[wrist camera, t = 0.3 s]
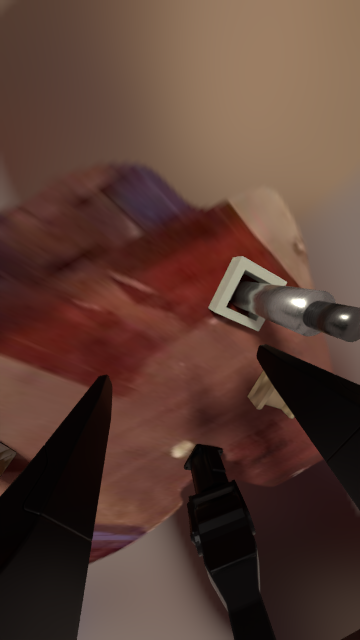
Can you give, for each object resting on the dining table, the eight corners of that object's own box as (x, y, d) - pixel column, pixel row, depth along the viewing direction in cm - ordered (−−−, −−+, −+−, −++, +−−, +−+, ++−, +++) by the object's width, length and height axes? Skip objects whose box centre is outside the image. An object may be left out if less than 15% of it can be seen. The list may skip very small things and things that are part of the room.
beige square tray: (281, 406, 34) (292, 418, 31) (247, 396, 32) (256, 408, 29) (305, 370, 32) (320, 380, 30) (271, 357, 30) (284, 366, 27)
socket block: (249, 326, 27) (258, 331, 25) (208, 308, 25) (214, 312, 23) (274, 280, 26) (287, 282, 23) (233, 257, 23) (242, 256, 21)
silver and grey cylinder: (245, 310, 26) (356, 359, 12) (225, 301, 25) (320, 341, 11) (258, 287, 25) (392, 310, 11) (237, 276, 24) (357, 286, 10)
